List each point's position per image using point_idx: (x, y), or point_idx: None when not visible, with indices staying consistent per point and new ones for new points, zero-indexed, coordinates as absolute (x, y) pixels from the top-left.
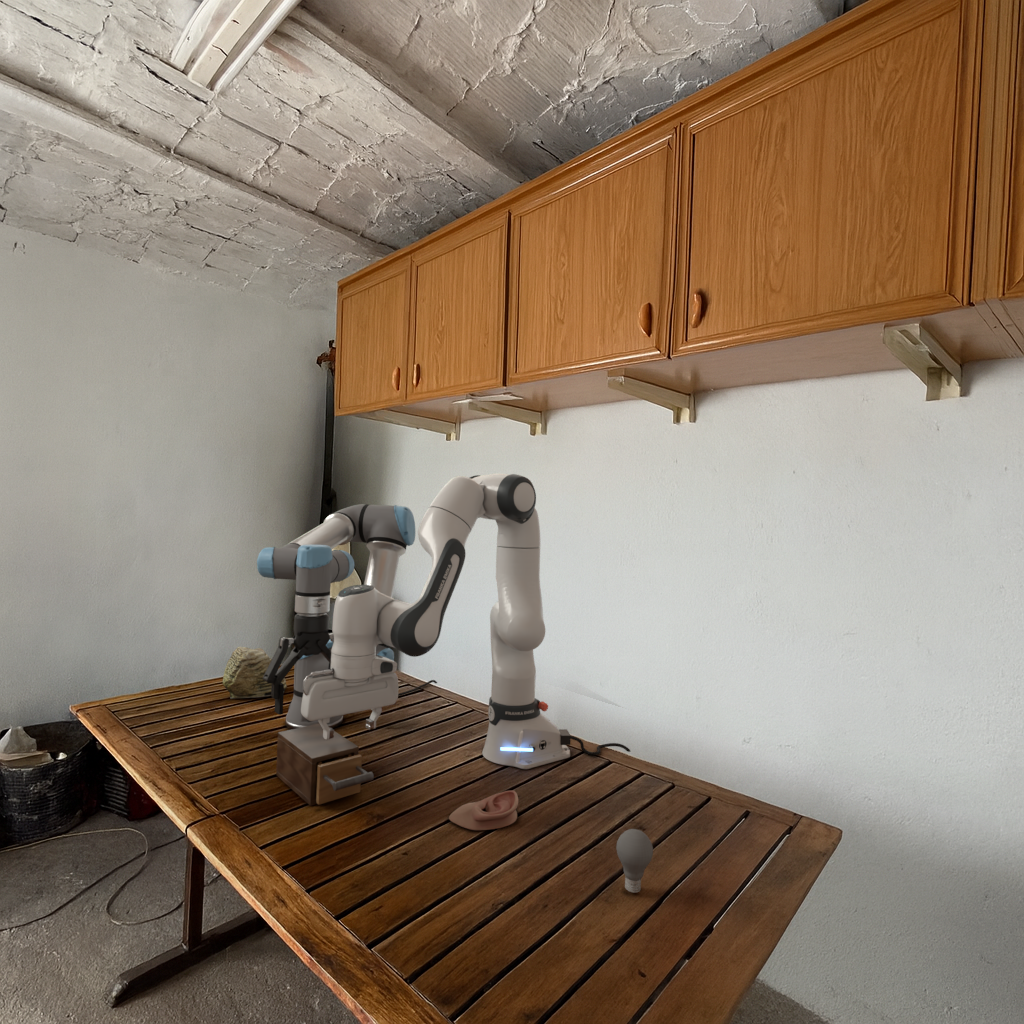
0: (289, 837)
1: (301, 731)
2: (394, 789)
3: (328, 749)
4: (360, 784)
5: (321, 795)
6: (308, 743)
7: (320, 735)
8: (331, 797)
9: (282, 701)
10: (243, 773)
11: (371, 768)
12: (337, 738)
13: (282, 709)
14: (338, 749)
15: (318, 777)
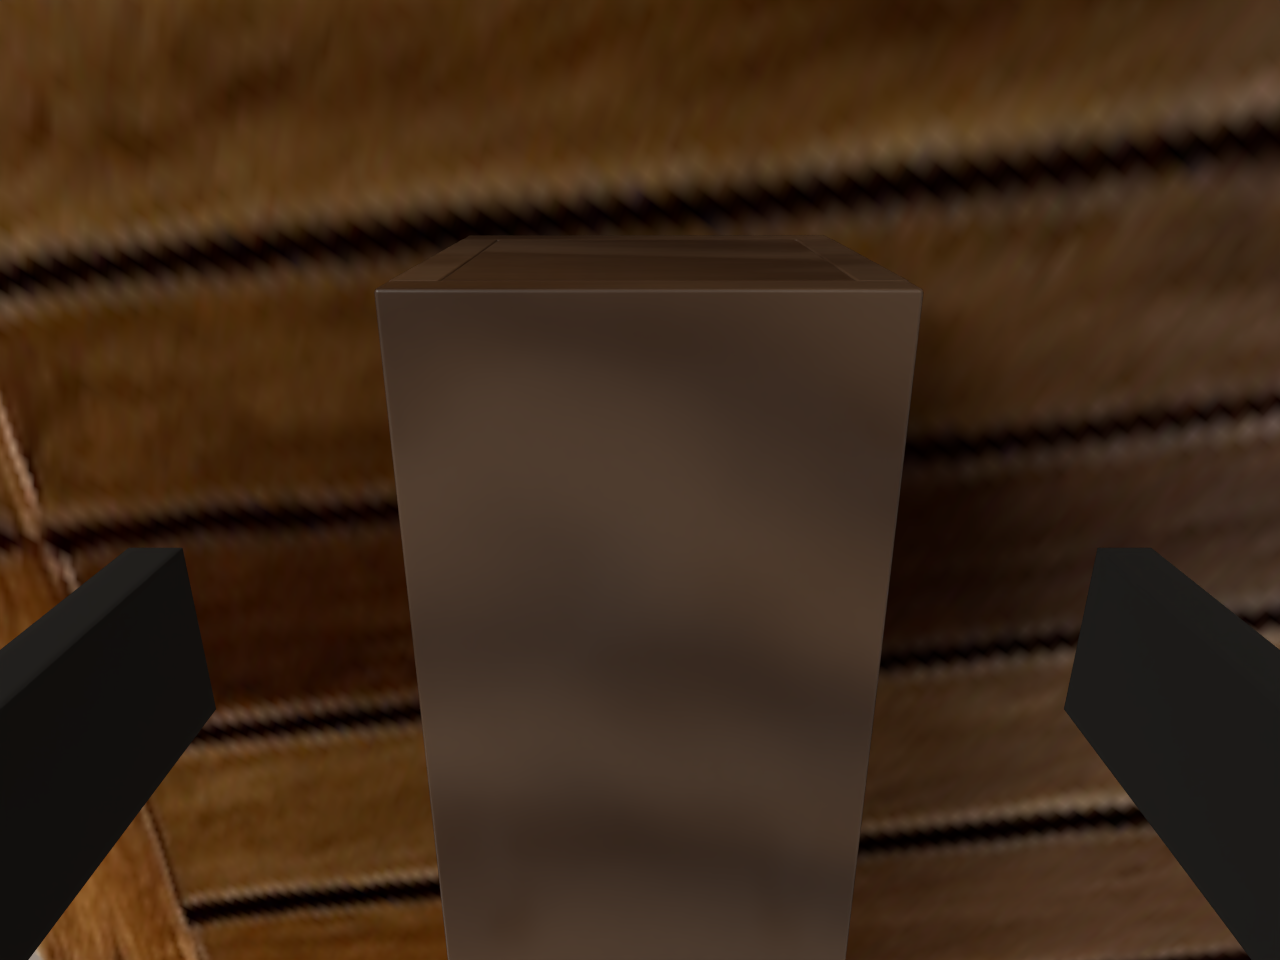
0: (318, 909)
1: (606, 414)
2: (964, 812)
3: (624, 898)
4: None
5: None
6: (539, 717)
7: (715, 617)
8: None
9: (98, 846)
10: (261, 34)
11: (1055, 519)
12: (806, 752)
13: (176, 750)
14: (690, 930)
15: None
